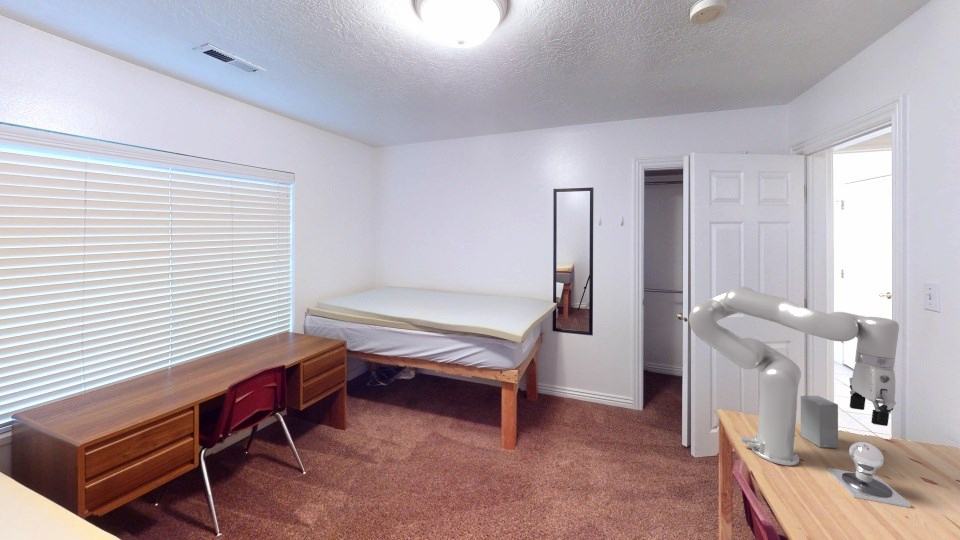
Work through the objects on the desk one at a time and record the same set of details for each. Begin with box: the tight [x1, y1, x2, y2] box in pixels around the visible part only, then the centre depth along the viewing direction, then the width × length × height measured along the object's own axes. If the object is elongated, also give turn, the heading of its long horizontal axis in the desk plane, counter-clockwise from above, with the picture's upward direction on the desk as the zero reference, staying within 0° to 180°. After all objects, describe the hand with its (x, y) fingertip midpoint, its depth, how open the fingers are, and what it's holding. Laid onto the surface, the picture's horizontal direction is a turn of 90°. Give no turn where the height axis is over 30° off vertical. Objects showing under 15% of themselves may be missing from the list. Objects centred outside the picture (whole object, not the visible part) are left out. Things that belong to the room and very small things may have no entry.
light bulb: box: [848, 441, 885, 483], centre depth 103 cm, size 7×7×12 cm
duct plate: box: [827, 467, 912, 508], centre depth 103 cm, size 12×12×1 cm
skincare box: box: [800, 395, 839, 449], centre depth 126 cm, size 8×7×16 cm
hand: (867, 416), depth 103 cm, fingers open, 9 cm apart
